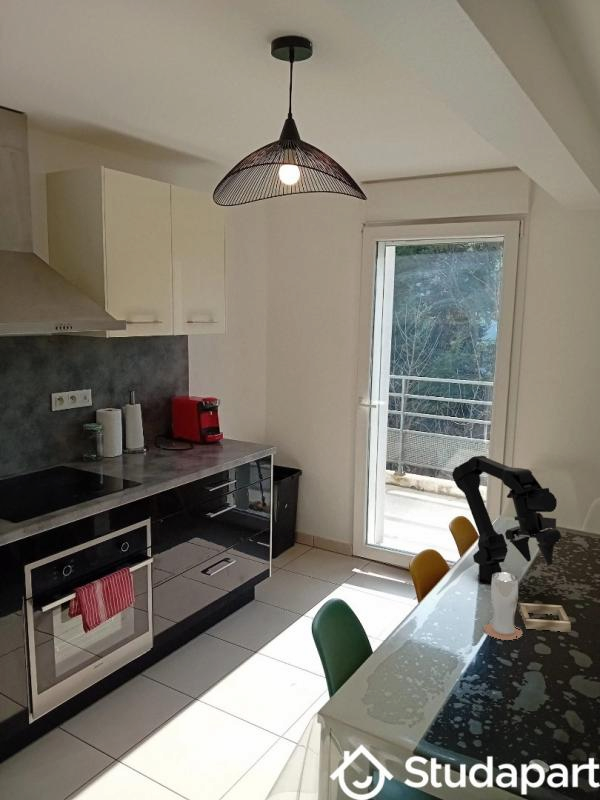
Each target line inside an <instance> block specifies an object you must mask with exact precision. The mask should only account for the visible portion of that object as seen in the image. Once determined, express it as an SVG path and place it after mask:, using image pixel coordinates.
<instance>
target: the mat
mask: <svg viewBox="0 0 600 800" xmlns="http://www.w3.org/2000/svg"><path fill="white" fill-rule="evenodd" d="M492 625H493V622H490V623H487V624H486V625H484V627H483V632H484V631H485V632H486V633H485V632H484V633H485V635H487V634H488V635H489V636H488V635H487V636H488V637H490V636H491V637H490V638H492V637H494V638H493V639H495V638H497V639H496V640H498V639H501V640H500V641H504V640H512V641H514V640H513V639H517V640H519V639H518V638H520V637H521V636H522V637H523V635H522V634H523V630H522V629H521V628H520V627H518V626H517V625H515V627H516V626H517V627H516V628H518V629H520V630H518V629H516V628H515V630H516V632H515V633H514V634H512V635H501V634H497V633H495V632H494V631H493V630H492ZM516 636H517V638H516ZM522 637H521V638H522ZM521 638H520V639H521Z"/></svg>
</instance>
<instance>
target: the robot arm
mask: <svg viewBox="0 0 600 800" xmlns="http://www.w3.org/2000/svg"><path fill="white" fill-rule="evenodd" d="M483 473H485V474H487V475H489V476H492V477H494V478H497V479H498V480H500V481H502V483H503V485H504V486H506V488H508V489H510V490H509V492H508V494H507V495H506V498H507V499H512V502H513V507H514V509H515V512H516V513H515V514H516V516H514V517H513V518H514V521H518V525H517V526H515V527H514V526H513V527H512V528H509V529H508V528H507V529H506V531H505V533H504V535H503V533H498V532H497V531H496V530H495V528H494V526H493V523H492V520H491V518H490V514H489V513H488V509H487V507H486V504H485V500H484V499H483V496H482V493H481V491H480V485H481V475H482V474H483ZM451 476H452V479H453V481H454V483H455V485H456V487H457V488H458V489H459V490H460V491H461V492H462V493H463V494H464V496H465V498H466V501H467V504H468V508H469V510H470V513H471V515H472V518H473V520H474V524H475V528H476V530H477V532H478V541H477V547H478V550H477V551H476V552H475V553H474V554H473V555H472V558H473V562H474V563H476V564H478V574H477V578H478V579H477V580H478V582H479V584H485V585H486V584H487V585H488V584H489V585H491V582H492V575H493V574H494V573H498V572H502V567H501V565H500V563H504V562H505V561H506V557H507V554H508V551H509V549H508V544H507V542H506V540H507V541H509V543H511V545H513V546H514V547H515V549H517V550H518V551H519V553H520V554H521V555H522V557H523V558H524V559H525V560H526V562H531V560H532V557H531V551H530V547H529V545H530V544H529V541H530V538H531V539H532V538H533V539H535V540H536V542H538V543H537V547H538V549H539V550H540V552H541V554H542V557H543V558H544V561H545V562H546V563H547V565H548V566H550V565H552V564H553V556H554V555H553V553H554V548H555V545H556V544H557V543H558V542H560V540H562V539H563V538H562V537H563V536H562V534H561V531H560V530H558V529H557V518H553V517H544V516H543V514H541V513H552V512H554V511H555V510H556V508H557V504H558V503H557V502H558V500H557V498H556V496H555V495H554V493H552V492H551V491H550V488H549V487H542V486H541V484H540V483H539V481H538V480H537V479H536V477H535V476H534V475H533V472H532V471H531V470H530V469H528V468H522V467H510V466H508V465H505V464H503V463H501V462H498V461H496V460H493V459H491V458H488V457H487V456H486V455H485V456H484V455H477V456H476V455H475V456H472V457H470V458H469V459H468V460H467V461H465V462H463V463H461V464H460V465H458V466H455V467H454V468H453V471H452V475H451ZM505 539H506V540H505Z"/></svg>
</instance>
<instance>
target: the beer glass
mask: <svg viewBox="0 0 600 800" xmlns="http://www.w3.org/2000/svg"><path fill="white" fill-rule="evenodd" d="M518 579H519V578H518V576H517V575H515V574H513V573H510V572H504V571H501V572H498V573H494V574H493V575H492V582H491V584H490V585H491V586H490V598H491V603H492V605H491V606H492V609H493V610H492V611H493V612H492V613H493V620H492V623H493V625H492V630H493V631H494V632H495V633H497V634H501V635H512V634H514V633H515V632H516V630H515V626H516V625H515V615H516V610H517V606H518V605H517V604H518V600H519V582H518V581H519V580H518Z"/></svg>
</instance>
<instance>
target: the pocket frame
mask: <svg viewBox="0 0 600 800" xmlns="http://www.w3.org/2000/svg"><path fill="white" fill-rule="evenodd" d="M520 612H521V613H520ZM519 613H520V616H522V617H521V619H522V621H524V622H523V625H524V624H525V625H524V627H526V628H525V630H526V629H536V630H535V631H542V630H550V631H549V632H557V631H560V632H561V633H571V631H572V629H571V627H572V625H571V624H572V623H571V621H570V619H569V617H568V616H567V613H566V611H565V610H564V608H563V606H562V604H561V605H557V604H543V603H542V604H541V603H524V602H520V603H519ZM528 613H533V614H532V615H542V614H548V615H547V616H557V617H558V619H559V620H554V619H553V620H552V619H551V620H550V619H535V618H530V615H529V614H528ZM550 614H552V615H550ZM560 632H559V633H560Z"/></svg>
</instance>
